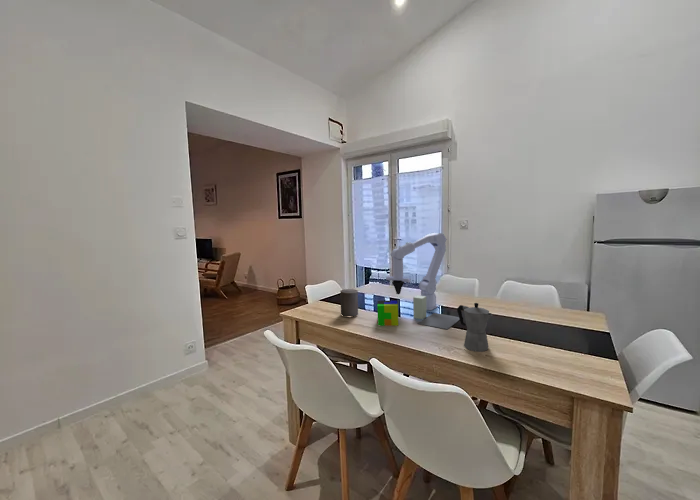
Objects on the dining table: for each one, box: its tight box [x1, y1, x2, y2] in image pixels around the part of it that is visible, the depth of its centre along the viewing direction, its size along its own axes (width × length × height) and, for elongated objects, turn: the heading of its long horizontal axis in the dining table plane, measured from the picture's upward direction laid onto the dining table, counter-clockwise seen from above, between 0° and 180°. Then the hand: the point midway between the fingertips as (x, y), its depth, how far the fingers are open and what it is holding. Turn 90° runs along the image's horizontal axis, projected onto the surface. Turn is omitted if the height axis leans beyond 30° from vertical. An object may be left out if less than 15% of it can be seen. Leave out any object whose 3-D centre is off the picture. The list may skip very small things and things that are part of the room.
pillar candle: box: [340, 288, 359, 317], centre depth 168 cm, size 10×10×15 cm
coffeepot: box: [456, 302, 493, 353], centre depth 121 cm, size 15×9×18 cm, turn 33°
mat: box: [417, 312, 460, 331], centre depth 154 cm, size 20×15×1 cm
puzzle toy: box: [376, 300, 399, 327], centre depth 154 cm, size 10×10×10 cm
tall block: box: [412, 294, 428, 320], centre depth 160 cm, size 5×5×11 cm
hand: (398, 293), depth 172 cm, fingers closed
